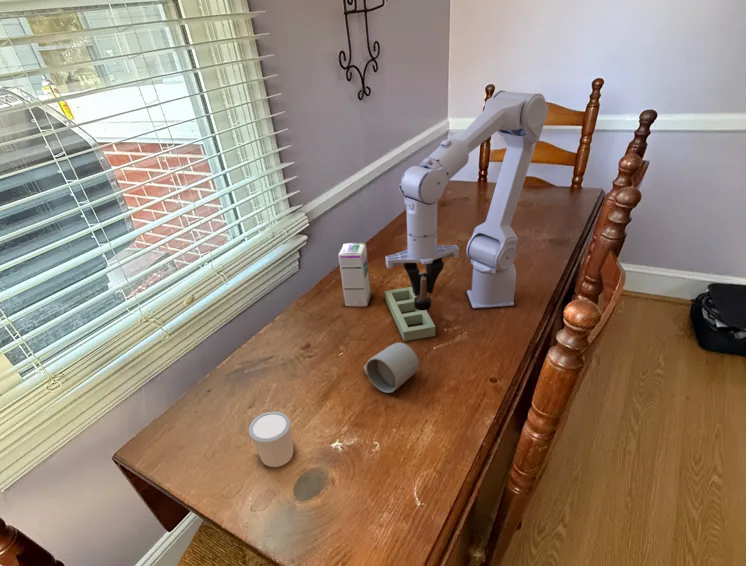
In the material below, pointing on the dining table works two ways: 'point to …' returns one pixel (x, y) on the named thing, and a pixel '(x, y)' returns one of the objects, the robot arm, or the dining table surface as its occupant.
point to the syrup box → (355, 274)
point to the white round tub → (272, 438)
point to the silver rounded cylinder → (422, 293)
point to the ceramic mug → (392, 367)
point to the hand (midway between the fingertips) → (422, 292)
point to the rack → (409, 315)
